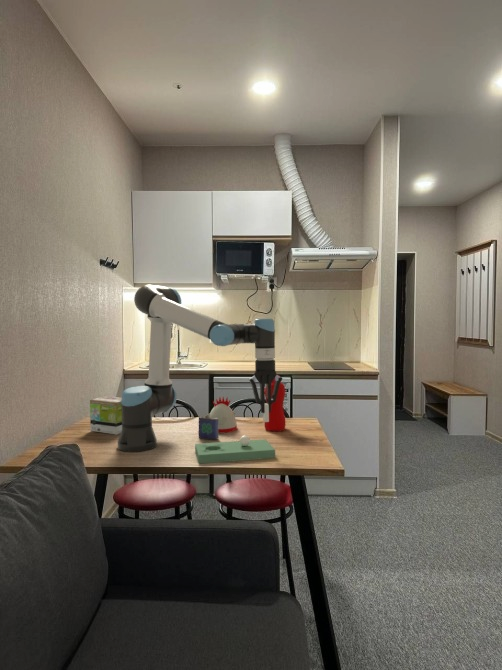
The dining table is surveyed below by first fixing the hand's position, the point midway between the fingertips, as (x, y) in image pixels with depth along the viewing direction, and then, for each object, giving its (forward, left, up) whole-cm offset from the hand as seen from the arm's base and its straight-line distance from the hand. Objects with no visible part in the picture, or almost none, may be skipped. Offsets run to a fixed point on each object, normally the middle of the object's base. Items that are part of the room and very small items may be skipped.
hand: (266, 421), depth 168 cm
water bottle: (+13, +33, -12) cm, 38 cm away
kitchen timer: (-11, +39, -12) cm, 43 cm away
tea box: (-61, +47, -12) cm, 78 cm away
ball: (-8, 0, -7) cm, 11 cm away
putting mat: (-12, 0, -12) cm, 17 cm away
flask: (-19, +24, -12) cm, 33 cm away
